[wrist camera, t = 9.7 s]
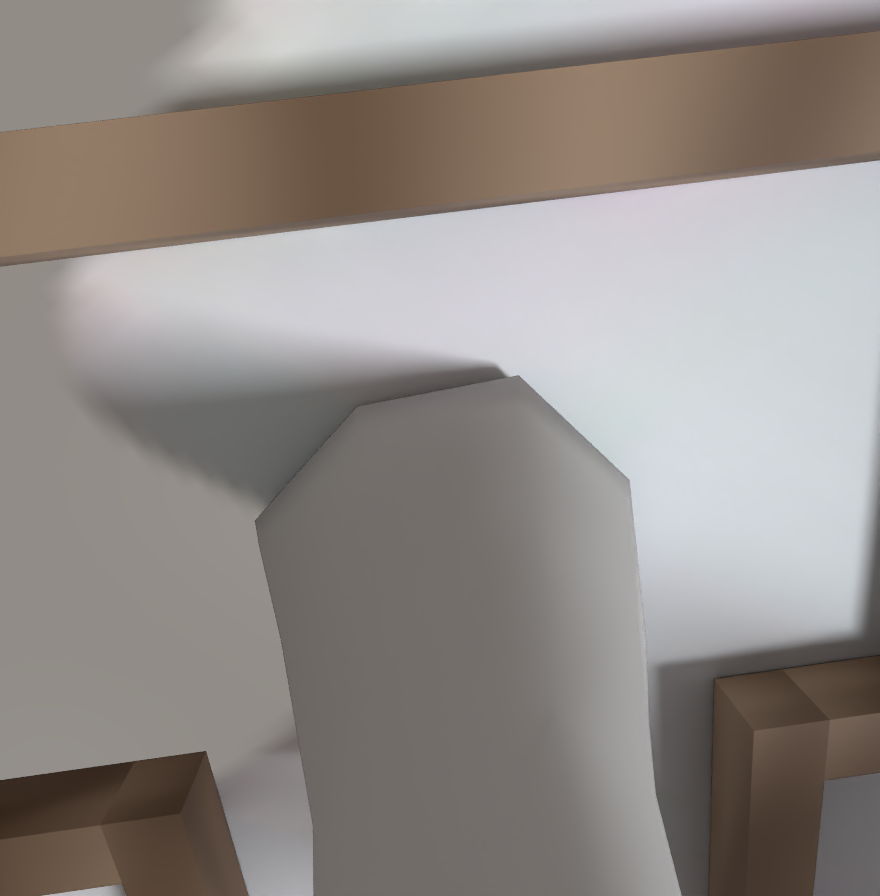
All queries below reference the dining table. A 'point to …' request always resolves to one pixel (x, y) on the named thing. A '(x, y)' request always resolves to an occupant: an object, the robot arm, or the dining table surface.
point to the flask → (467, 654)
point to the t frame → (423, 193)
